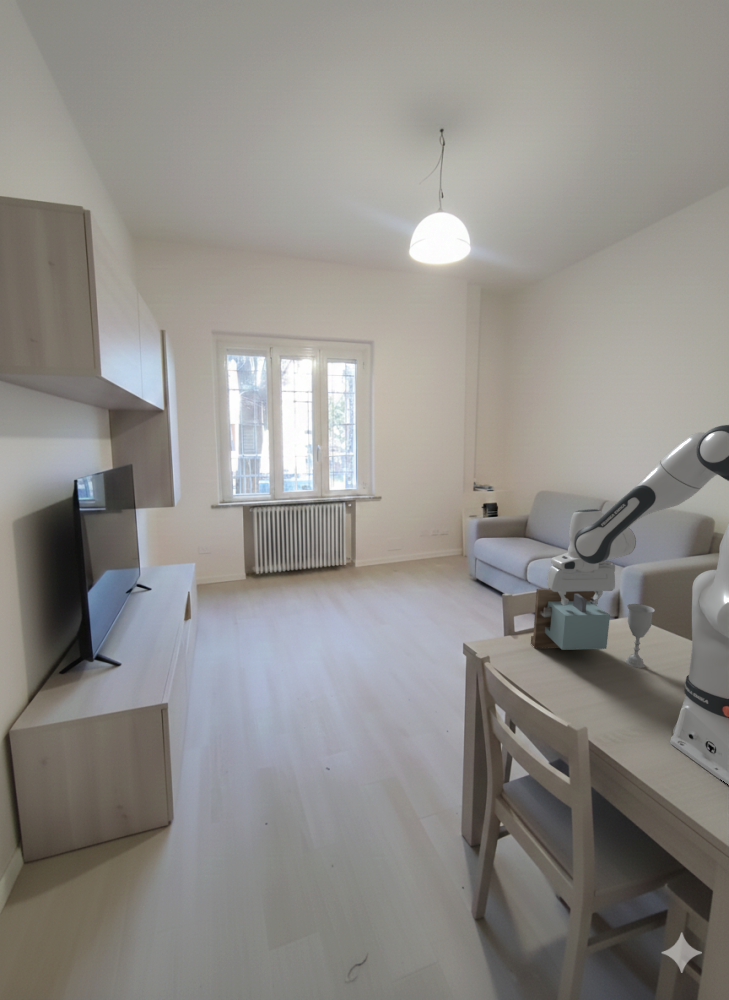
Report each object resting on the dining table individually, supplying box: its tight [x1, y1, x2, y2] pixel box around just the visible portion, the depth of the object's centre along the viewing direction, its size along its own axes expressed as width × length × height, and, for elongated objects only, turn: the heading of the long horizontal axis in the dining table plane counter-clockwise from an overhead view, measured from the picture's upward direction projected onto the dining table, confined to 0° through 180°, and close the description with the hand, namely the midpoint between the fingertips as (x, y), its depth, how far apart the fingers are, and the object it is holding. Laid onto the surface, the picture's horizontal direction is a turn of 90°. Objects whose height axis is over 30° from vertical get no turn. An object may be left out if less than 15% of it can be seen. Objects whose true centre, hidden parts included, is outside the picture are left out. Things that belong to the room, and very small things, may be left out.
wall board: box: [530, 588, 598, 649], centre depth 146 cm, size 6×20×20 cm, turn 94°
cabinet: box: [545, 594, 611, 651], centre depth 140 cm, size 11×14×15 cm
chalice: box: [625, 603, 656, 669], centre depth 136 cm, size 7×7×18 cm
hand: (579, 604), depth 138 cm, fingers open, 8 cm apart
